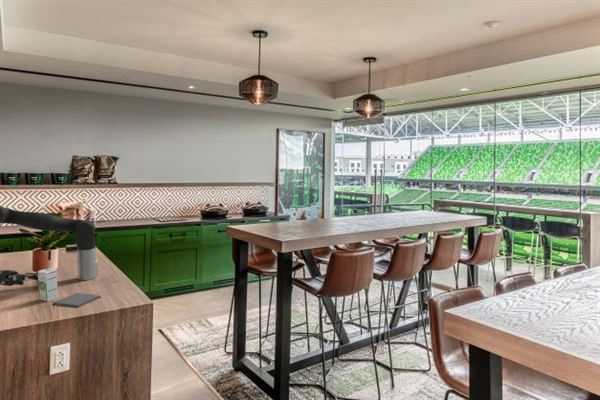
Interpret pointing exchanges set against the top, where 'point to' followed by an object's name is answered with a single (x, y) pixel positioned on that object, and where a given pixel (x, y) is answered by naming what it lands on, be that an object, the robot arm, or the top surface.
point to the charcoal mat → (77, 300)
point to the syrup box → (47, 284)
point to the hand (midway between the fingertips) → (31, 280)
